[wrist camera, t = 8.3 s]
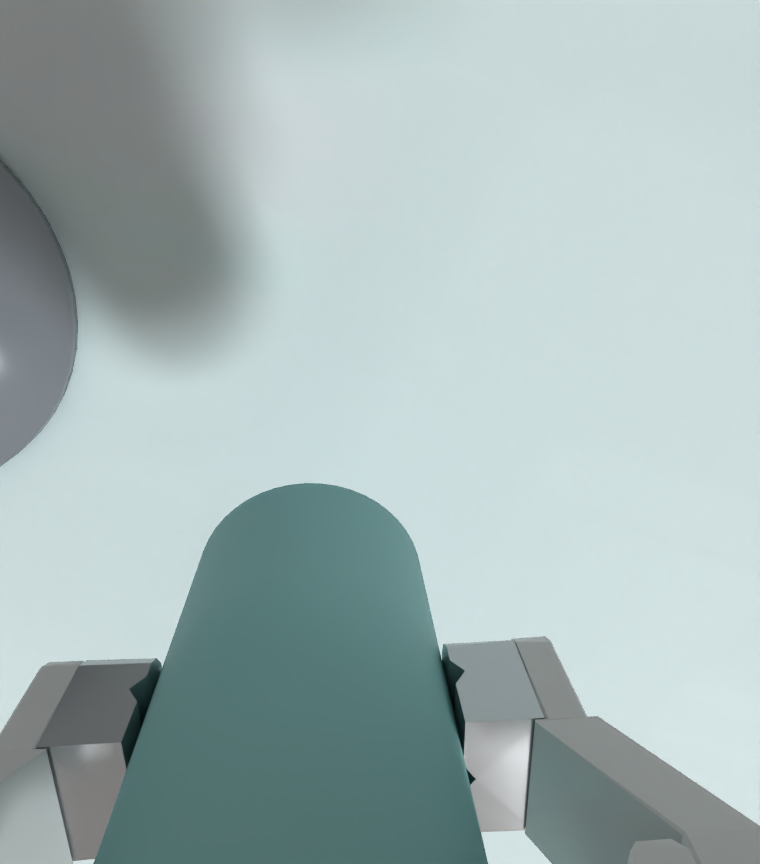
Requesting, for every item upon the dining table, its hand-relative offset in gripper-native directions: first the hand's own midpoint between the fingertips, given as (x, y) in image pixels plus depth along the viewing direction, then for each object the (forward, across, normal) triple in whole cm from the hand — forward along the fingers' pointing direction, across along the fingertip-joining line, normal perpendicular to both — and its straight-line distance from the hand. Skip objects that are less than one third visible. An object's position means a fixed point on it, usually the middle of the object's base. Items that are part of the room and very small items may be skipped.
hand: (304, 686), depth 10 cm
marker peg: (+3, 0, 0) cm, 3 cm away
